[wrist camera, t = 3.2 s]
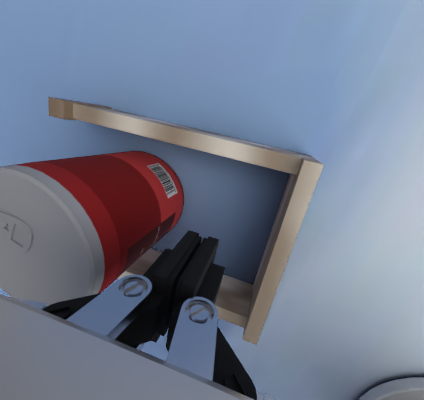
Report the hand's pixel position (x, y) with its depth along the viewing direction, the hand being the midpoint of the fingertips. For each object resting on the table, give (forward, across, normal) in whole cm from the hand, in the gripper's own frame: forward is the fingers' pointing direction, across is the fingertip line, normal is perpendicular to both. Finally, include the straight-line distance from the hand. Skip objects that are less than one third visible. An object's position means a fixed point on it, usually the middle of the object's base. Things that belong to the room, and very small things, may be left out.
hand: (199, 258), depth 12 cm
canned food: (+8, +8, +1) cm, 11 cm away
